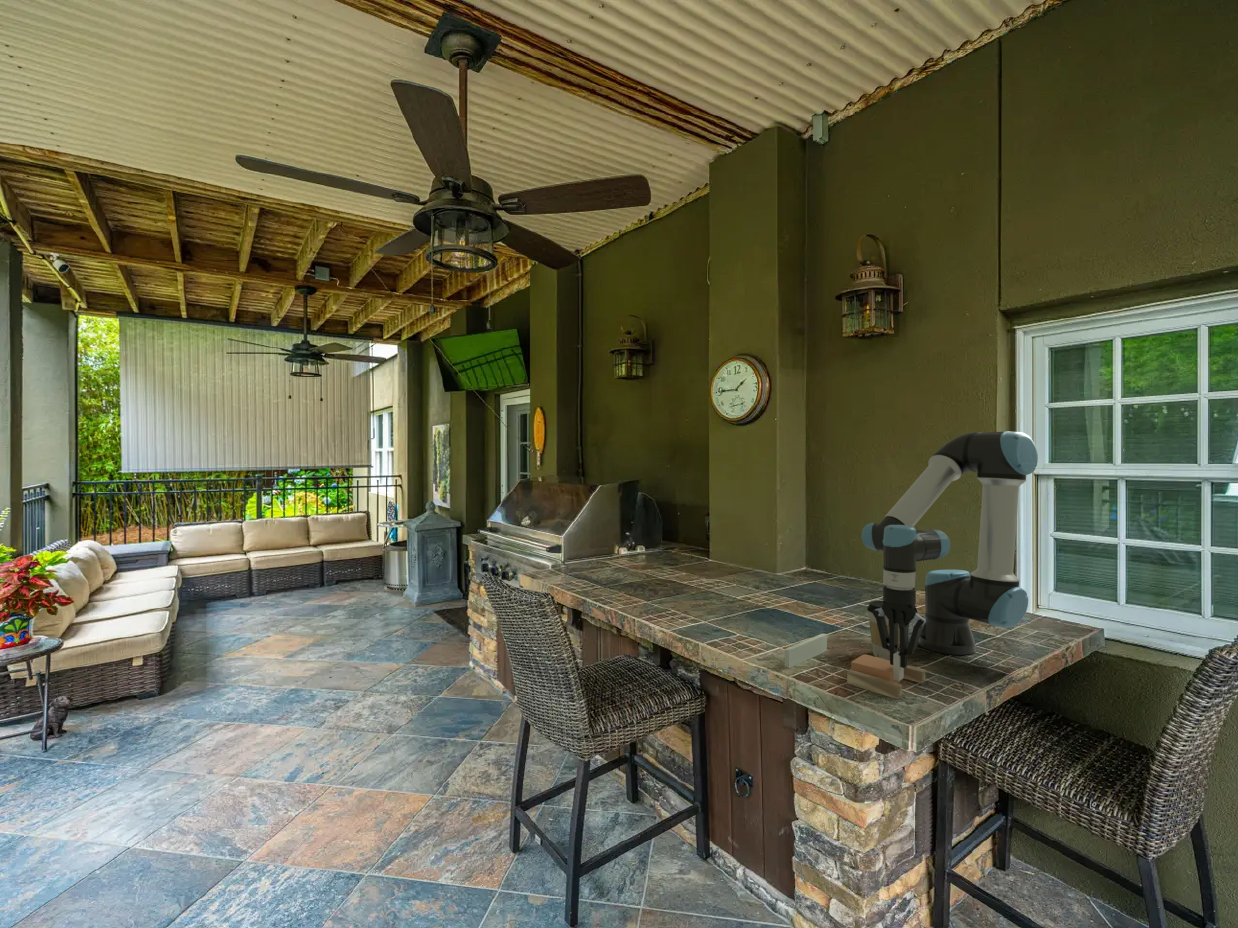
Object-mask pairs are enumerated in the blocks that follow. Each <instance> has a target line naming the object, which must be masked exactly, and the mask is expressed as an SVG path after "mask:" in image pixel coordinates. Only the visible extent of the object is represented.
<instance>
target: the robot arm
mask: <svg viewBox="0 0 1238 928" xmlns="http://www.w3.org/2000/svg"><path fill="white" fill-rule="evenodd" d="M1037 450H1038V448H1037V446H1036V444H1035V442H1034V441H1033V439H1032V438H1031V437H1030V436H1029V435H1028V434H1026V433H1024V432H1021V431H1008V430H1007V431H1006V430H1005V431H984V432H983V431H982V432H980V431H979V432H978V431H973V432H972V431H971V432H966V433H963V434H960V435H958V436H956V437H954V438H952V439H951V440H949V441H948V442H946V443H945V444H944V445H942V446H940V448H938V449H937V451H935V453H933V455H932V456H930V458H929V459H928V466H927V467H926V468H925V469H924V470H923V472H922V473H921V474H920V475H919V476H918V478H917V479H915V481H914V482H913V483H912V484H911V486H909V487H908V489H907V490H906V491H905V493H904V494H903V495H902V496H901V497H900V498H899V499H898V500H897V502H896V503H894V505H893V506H892V507H891V509H890V510H889V511H888V512H887V513H886V515H885V516H884V517H883V518H882V519H881V520H880V521H879V523H878V522H869V523H868V524H866V525H865V526H864V527H863V528H862V531H861V540H862V543H863V545H864V546H865V547H866V548H868V549H870V550H872V551H877V552H883V565H882V566H883V570H882V571H883V572H882V575H883V577H882V584H883V585H884V586H883V587H882V601H883V604H882V605H881V608H878V609H875V610H873V611H872V613H873V615H874V617H875V618H876V621H877V625H878V630H879V634H880V639H881V643H882V647H883V648H884V649H887V650H889V652H890V659H889V660H890V664H891V665H893V679H894V680H897V681H900V680H902V681H903V679H904V668H905V667H907V665H908V657H909V656H911V655H913V654H914V653H916V651H917V647H918V645H919V646H920V647H922V648H924V649H926V650H929V651H932V652H935V653H939V654H947V655H956V656H957V655H958V656H959V655H960V656H963V655H970V654H973V653H975V652H976V641H975V638H974V635H973V632H972V629H971V625H970V620H973V621H977V622H980V623H983V624H987V625H990V626H992V627H998V628H1004V629H1011V628H1014V627H1016V626H1017V625H1018V624H1020V622H1021V621H1022V620H1023V618H1024V617H1025V616H1026V613H1027V611H1028V607H1029V595H1028V593H1027V591H1026V590H1025V589H1023V588H1022V587H1020V579H1019V578H1018V577H1017V575H1016V574H1015V573H1014V566H1015V553H1016V551H1015V550H1016V539H1017V538H1016V534H1017V522H1018V505H1019V504H1018V503H1019V494H1020V493H1019V490H1020V487H1021V486H1022V485H1023V484H1024V483H1026V482H1027V476H1028V475H1030V474H1032V473H1034V471H1035V470H1036V467H1037V466H1038V462H1039V461H1038V459H1039V457H1038V451H1037ZM972 472H973V473H976V474H977V476H976V479H977V480H978V481H979V482H980V483H981V485H982V489H981V490H982V492H981V506H980V507H981V508H980V520H979V521H980V524H979V534H978V535H979V539H978V551H977V553H978V554H977V565H976V566H977V567H976V569H974V570H973V571H972V572H970V571H967V570H963V569H937V570H931V571H928V572H927V573H926V574H925V583H924V587H925V588H924V594H925V595H924V605H925V606H924V617H922V615H920V614H919V613H918V610H917V608H916V602H917V601H916V599H917V598H916V597H917V594H916V592H917V589H915V588H916V586H917V562H922V561H930V560H932V561H934V560H938V559H941V558H944V557H945V556H947V555H948V554H949V552H950V550H951V540H950V538H949V537H948V535H947V534H946V533H945V532H943V531H941V530H940V529H927V530H925V529H919V528H918V529H917V528H916V527H915V526H916V524H917V523H918V522H919V521H921V518H922V517H923V516H924V515H925V513H927V511H928V510H929V509H930V508H931V506H933V504H934V503H935V502H936V501H937V500H938V498H939V497H940V496H941V495H942V493H944V491H945V490H946V489H947V487H948V486H949V485H950V484H951V483H952V482H955V481H957V480H959V479H960V478H961V477H962V476H963V475H964V474H967V473H972ZM884 613H885V615H886V616H887V618H888V619H889V634H888V629H887V625H886V621H885V617H884ZM912 620H914V621H913V622H914V625H913V628H912V631H911V636H910V639H909V631H910V630H909V627H910V623H911V622H912ZM898 625H899V628H900V641H899V646H898ZM897 650H898V652H897ZM900 682H901V681H900Z"/></svg>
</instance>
